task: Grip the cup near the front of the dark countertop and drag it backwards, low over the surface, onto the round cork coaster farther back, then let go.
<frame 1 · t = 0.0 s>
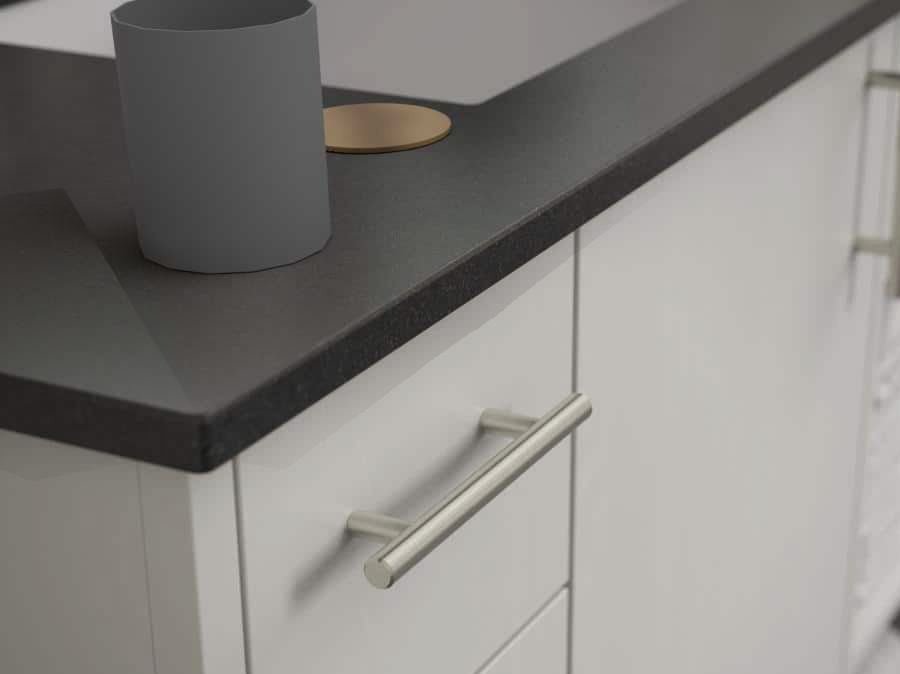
cup: (235, 243, 73), on the table
cork coaster: (370, 129, 87), on the table
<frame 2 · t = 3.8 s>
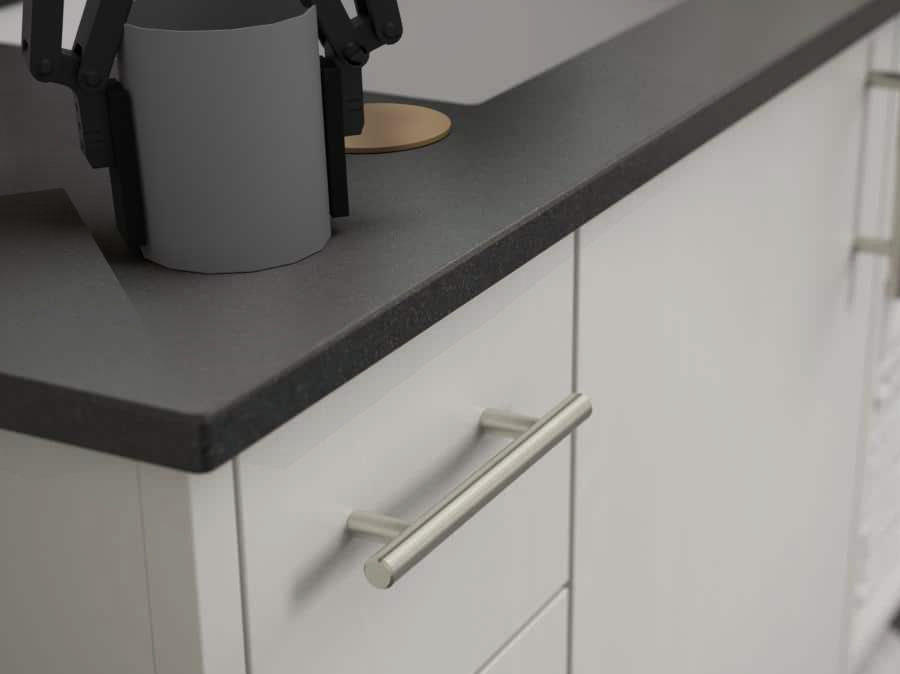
hand: (233, 221, 72), 1 cm above the table, tool pointing down, fingers closed on cup, 8 cm apart
cup: (235, 243, 73), on the table, touching gripper
when the fingers open (1 cm above the table, at t = 9.9 s): cup stays where it is, resting on cork coaster.
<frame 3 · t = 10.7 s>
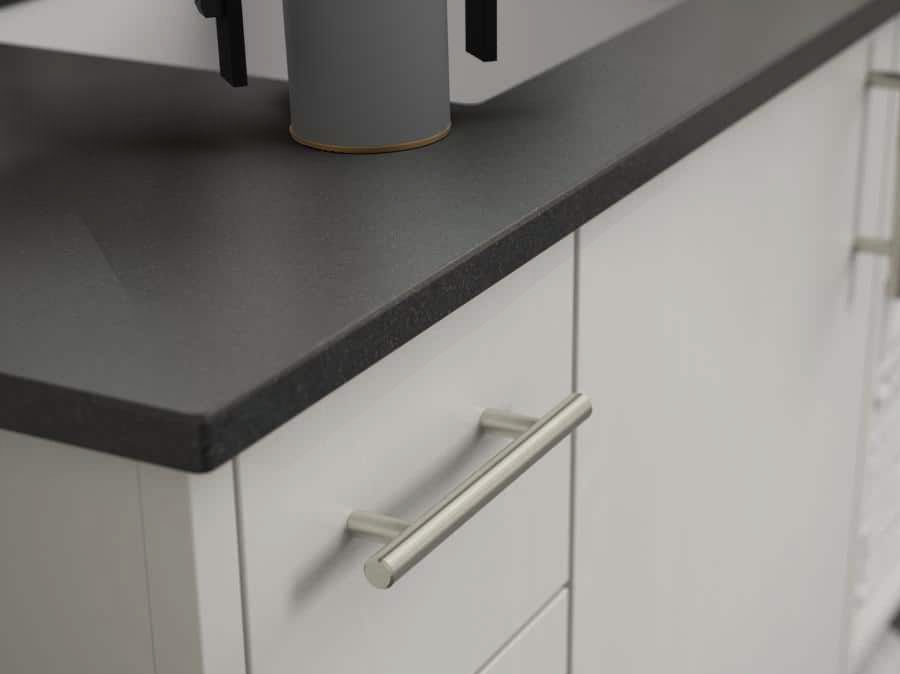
hand: (360, 69, 86), 3 cm above the table, tool pointing down, fingers open, 13 cm apart
cup: (371, 127, 87), resting on cork coaster
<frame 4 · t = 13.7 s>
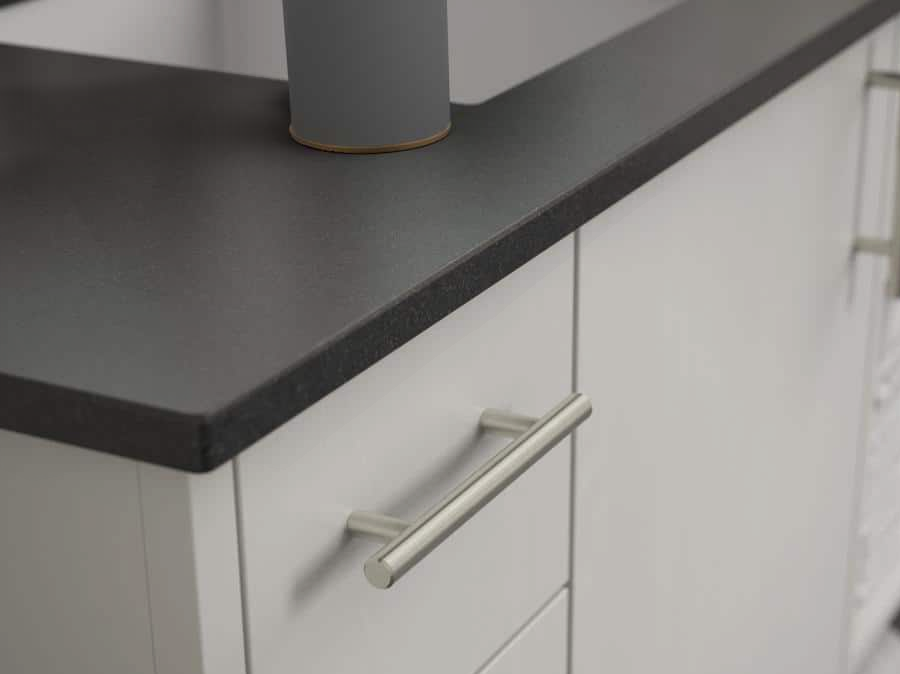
nothing on the table moved.
at the end: cup 0.0 cm off-centre on the cork coaster, point 0.1 cm above the cork coaster's base; cup tilted 0°; cup moved 17.8 cm from its start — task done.
